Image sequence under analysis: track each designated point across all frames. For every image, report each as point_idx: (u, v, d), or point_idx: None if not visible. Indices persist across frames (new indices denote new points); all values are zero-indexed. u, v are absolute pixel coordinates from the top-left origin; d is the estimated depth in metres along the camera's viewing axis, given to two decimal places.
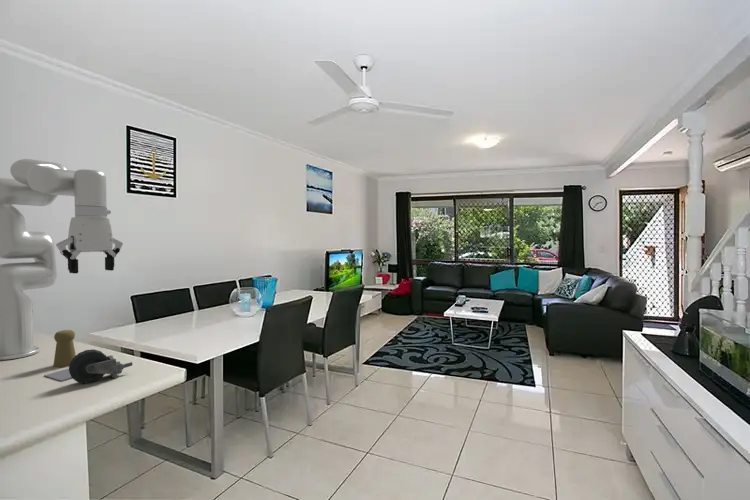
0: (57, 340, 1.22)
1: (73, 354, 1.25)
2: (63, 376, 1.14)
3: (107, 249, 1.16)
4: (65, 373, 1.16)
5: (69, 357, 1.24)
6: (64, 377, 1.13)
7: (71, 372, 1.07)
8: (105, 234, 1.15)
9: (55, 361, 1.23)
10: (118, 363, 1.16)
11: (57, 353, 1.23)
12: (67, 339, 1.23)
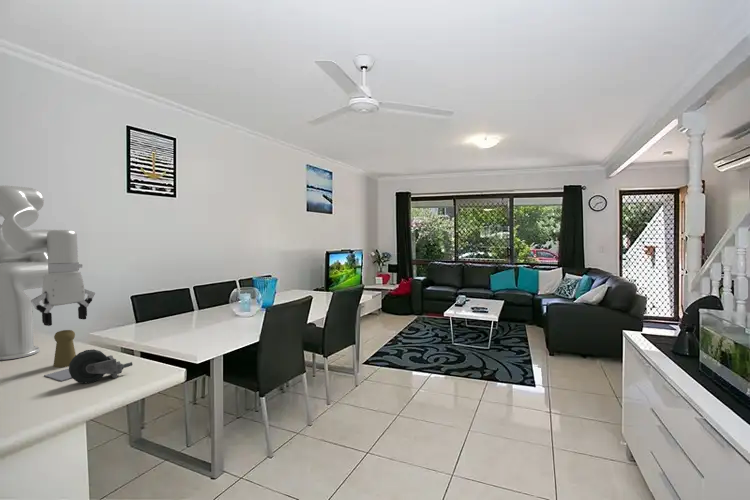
0: (57, 340, 1.22)
1: (73, 354, 1.25)
2: (63, 376, 1.14)
3: (79, 300, 1.26)
4: (65, 373, 1.16)
5: (69, 357, 1.24)
6: (64, 377, 1.13)
7: (71, 372, 1.07)
8: (77, 287, 1.25)
9: (55, 361, 1.23)
10: (118, 363, 1.16)
11: (57, 353, 1.23)
12: (67, 339, 1.23)
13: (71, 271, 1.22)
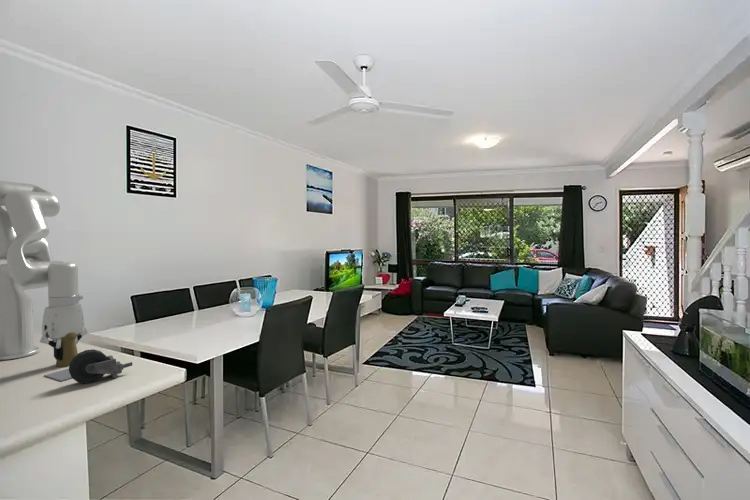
0: None
1: (75, 353, 1.26)
2: (63, 376, 1.14)
3: (79, 332, 1.27)
4: (65, 373, 1.16)
5: (72, 356, 1.24)
6: (64, 377, 1.13)
7: (71, 372, 1.07)
8: (77, 319, 1.26)
9: (58, 360, 1.23)
10: (118, 363, 1.16)
11: None
12: (69, 338, 1.24)
13: (71, 304, 1.23)
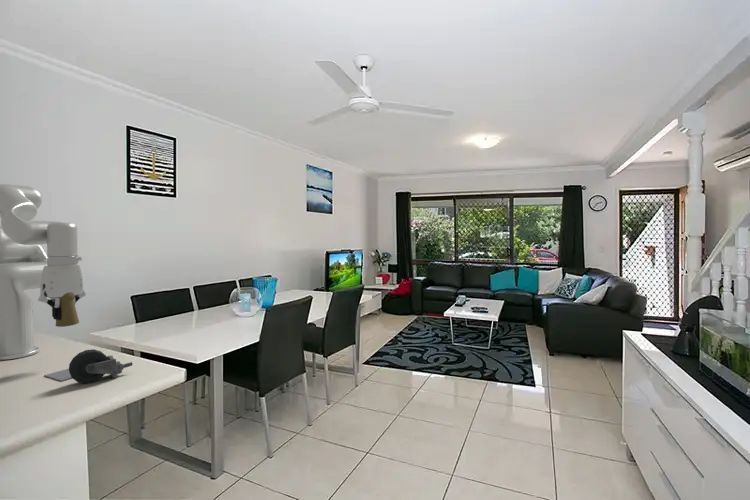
0: None
1: (74, 314, 1.26)
2: (63, 376, 1.14)
3: (77, 293, 1.26)
4: (65, 373, 1.16)
5: (71, 316, 1.24)
6: (64, 377, 1.13)
7: (71, 372, 1.07)
8: (75, 280, 1.25)
9: (57, 320, 1.23)
10: (118, 363, 1.16)
11: None
12: (67, 298, 1.23)
13: (70, 264, 1.22)
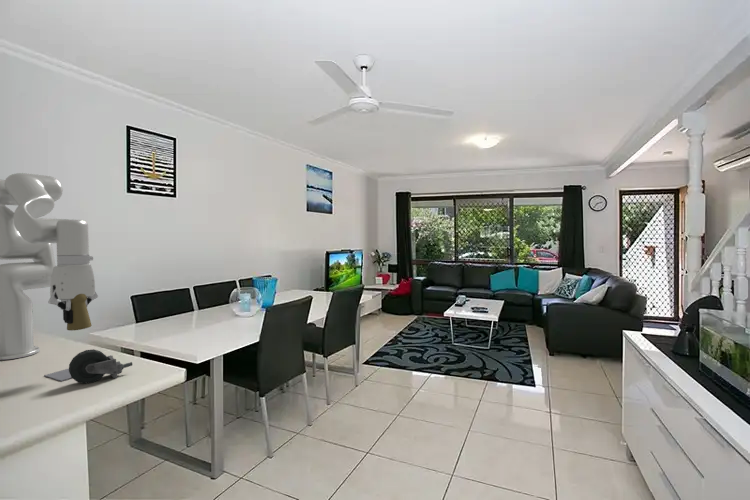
0: None
1: (87, 316, 1.18)
2: (63, 376, 1.14)
3: (89, 295, 1.19)
4: (65, 373, 1.16)
5: (83, 319, 1.17)
6: (64, 377, 1.13)
7: (71, 372, 1.07)
8: (87, 281, 1.18)
9: (68, 324, 1.15)
10: (118, 363, 1.16)
11: None
12: (79, 300, 1.16)
13: (81, 264, 1.15)
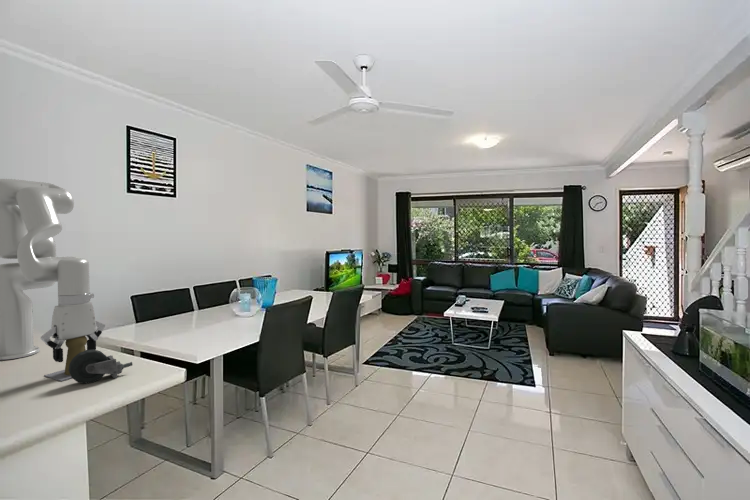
0: (69, 346, 1.15)
1: None
2: (63, 376, 1.14)
3: (90, 333, 1.19)
4: None
5: None
6: (64, 377, 1.13)
7: (71, 372, 1.07)
8: (88, 319, 1.18)
9: (66, 368, 1.16)
10: (118, 363, 1.16)
11: (69, 359, 1.16)
12: (79, 344, 1.16)
13: (82, 303, 1.15)
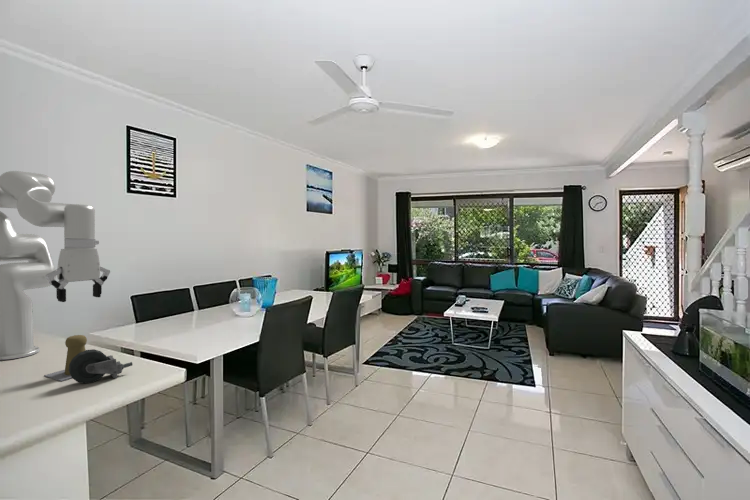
0: (69, 346, 1.15)
1: None
2: (63, 376, 1.14)
3: (94, 278, 1.23)
4: None
5: None
6: (64, 377, 1.13)
7: (71, 372, 1.07)
8: (93, 264, 1.22)
9: (66, 368, 1.16)
10: (118, 363, 1.16)
11: (69, 359, 1.16)
12: (79, 344, 1.16)
13: (87, 247, 1.19)
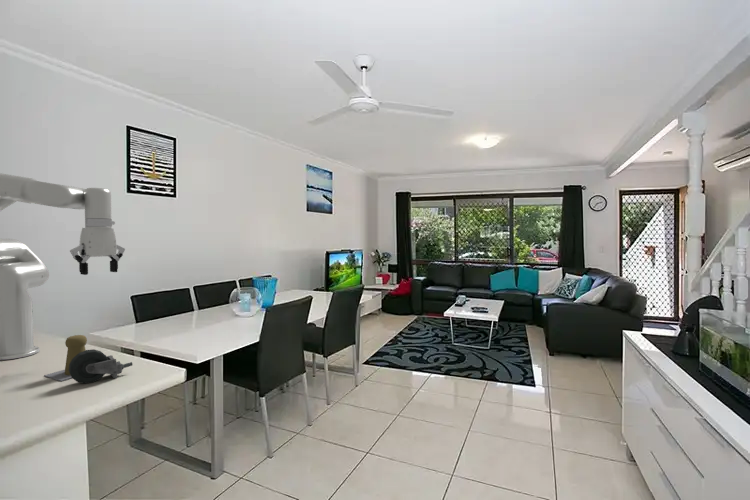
0: (69, 346, 1.15)
1: None
2: (63, 376, 1.14)
3: (112, 254, 1.37)
4: None
5: None
6: (64, 377, 1.13)
7: (71, 372, 1.07)
8: (110, 241, 1.36)
9: (66, 368, 1.16)
10: (118, 363, 1.16)
11: (69, 359, 1.16)
12: (79, 344, 1.16)
13: (106, 226, 1.33)
